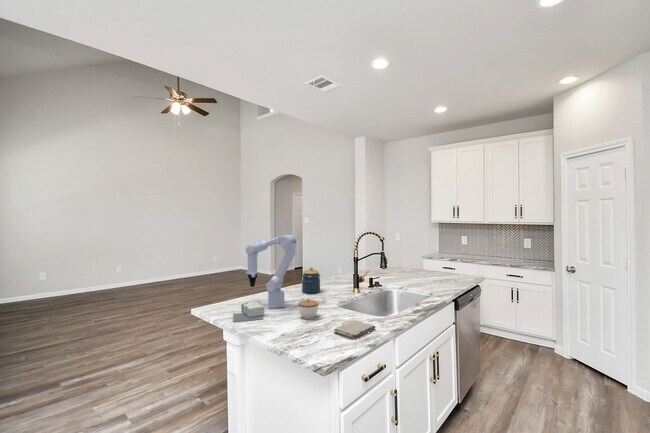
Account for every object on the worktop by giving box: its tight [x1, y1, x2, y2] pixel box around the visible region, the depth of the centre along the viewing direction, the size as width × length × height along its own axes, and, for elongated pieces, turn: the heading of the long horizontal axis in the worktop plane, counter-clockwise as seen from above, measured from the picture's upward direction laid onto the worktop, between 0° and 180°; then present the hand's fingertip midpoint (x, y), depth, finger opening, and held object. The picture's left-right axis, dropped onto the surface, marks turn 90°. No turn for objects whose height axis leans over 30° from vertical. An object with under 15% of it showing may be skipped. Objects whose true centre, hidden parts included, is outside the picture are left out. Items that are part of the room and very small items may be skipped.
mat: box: [232, 312, 264, 323], centre depth 166 cm, size 15×12×1 cm
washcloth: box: [333, 320, 376, 340], centre depth 146 cm, size 12×18×3 cm, turn 138°
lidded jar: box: [297, 298, 319, 320], centre depth 167 cm, size 11×11×9 cm
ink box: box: [241, 300, 265, 317], centre depth 170 cm, size 9×5×12 cm
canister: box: [301, 266, 321, 295], centre depth 219 cm, size 13×13×18 cm
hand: (252, 286), depth 191 cm, fingers closed
